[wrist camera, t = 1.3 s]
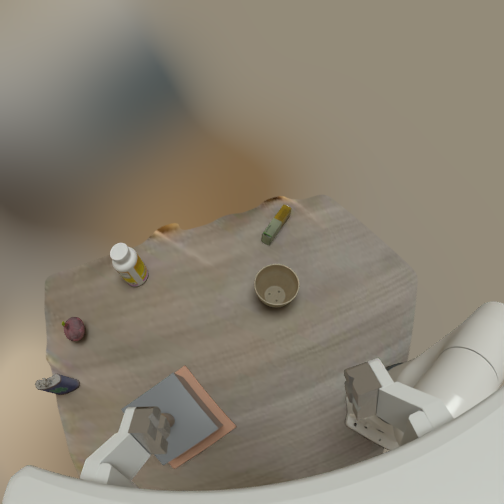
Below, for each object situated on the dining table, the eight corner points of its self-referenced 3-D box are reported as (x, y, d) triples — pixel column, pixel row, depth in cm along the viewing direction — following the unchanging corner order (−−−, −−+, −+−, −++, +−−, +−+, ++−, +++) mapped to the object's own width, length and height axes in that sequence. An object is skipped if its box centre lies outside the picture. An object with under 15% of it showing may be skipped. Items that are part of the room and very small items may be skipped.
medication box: (269, 246, 76) (270, 238, 73) (260, 241, 77) (261, 233, 73) (290, 216, 81) (292, 207, 78) (281, 212, 82) (283, 203, 79)
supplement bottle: (143, 260, 74) (126, 234, 63) (152, 279, 71) (136, 254, 60) (122, 272, 72) (103, 248, 61) (131, 291, 69) (111, 269, 58)
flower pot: (302, 290, 69) (307, 278, 63) (280, 323, 65) (284, 313, 59) (268, 270, 72) (270, 256, 66) (245, 300, 68) (245, 289, 62)
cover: (223, 425, 53) (212, 432, 38) (174, 458, 48) (149, 473, 33) (183, 377, 58) (160, 366, 43) (137, 409, 53) (102, 407, 39)
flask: (78, 377, 56) (54, 370, 47) (81, 388, 55) (57, 383, 46) (54, 386, 54) (29, 380, 45) (56, 397, 53) (31, 391, 44)
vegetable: (76, 348, 60) (55, 338, 52) (70, 328, 63) (49, 316, 54) (93, 338, 62) (73, 327, 53) (86, 318, 65) (67, 305, 56)
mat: (236, 426, 53) (236, 426, 52) (174, 468, 47) (174, 468, 46) (185, 365, 60) (185, 365, 59) (127, 407, 54) (126, 407, 53)
